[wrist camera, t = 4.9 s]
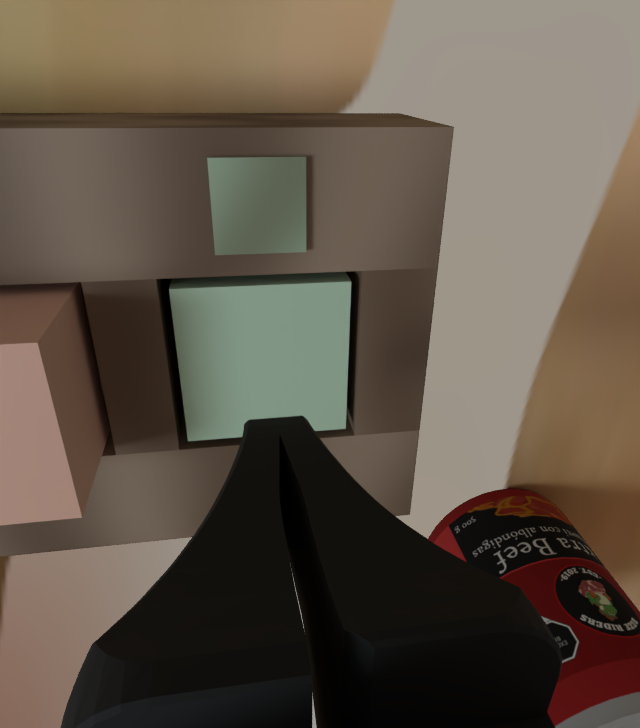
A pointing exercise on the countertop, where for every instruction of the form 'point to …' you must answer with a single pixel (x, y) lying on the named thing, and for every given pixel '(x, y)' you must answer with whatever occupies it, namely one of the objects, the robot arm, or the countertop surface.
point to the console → (224, 258)
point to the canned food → (558, 600)
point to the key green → (261, 350)
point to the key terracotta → (47, 404)
